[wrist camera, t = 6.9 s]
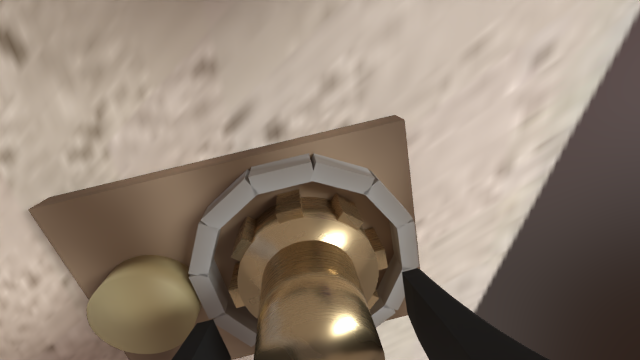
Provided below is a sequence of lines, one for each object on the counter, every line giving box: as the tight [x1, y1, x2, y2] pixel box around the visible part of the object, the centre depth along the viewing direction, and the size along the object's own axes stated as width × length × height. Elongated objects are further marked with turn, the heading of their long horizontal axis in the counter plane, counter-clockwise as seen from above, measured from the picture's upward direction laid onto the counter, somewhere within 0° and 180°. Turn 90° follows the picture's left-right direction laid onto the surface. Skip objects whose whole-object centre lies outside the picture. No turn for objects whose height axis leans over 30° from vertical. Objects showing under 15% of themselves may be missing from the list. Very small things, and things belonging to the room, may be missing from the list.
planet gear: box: [228, 189, 388, 360], centre depth 12 cm, size 7×7×6 cm
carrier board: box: [29, 115, 420, 360], centre depth 14 cm, size 16×11×3 cm
